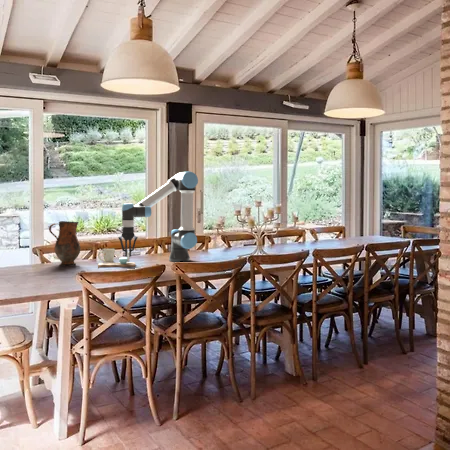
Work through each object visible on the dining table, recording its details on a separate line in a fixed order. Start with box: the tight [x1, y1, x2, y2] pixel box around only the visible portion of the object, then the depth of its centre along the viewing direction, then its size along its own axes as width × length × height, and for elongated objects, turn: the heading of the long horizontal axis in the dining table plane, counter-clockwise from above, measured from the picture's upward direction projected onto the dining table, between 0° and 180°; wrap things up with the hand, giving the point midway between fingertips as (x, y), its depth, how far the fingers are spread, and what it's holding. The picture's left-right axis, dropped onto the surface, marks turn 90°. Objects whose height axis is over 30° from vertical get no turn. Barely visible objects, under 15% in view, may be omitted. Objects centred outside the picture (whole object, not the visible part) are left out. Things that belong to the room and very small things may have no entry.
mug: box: [97, 248, 116, 263], centre depth 355 cm, size 8×13×10 cm, turn 78°
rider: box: [118, 257, 128, 264], centre depth 339 cm, size 5×6×5 cm
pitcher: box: [48, 220, 81, 267], centre depth 345 cm, size 17×21×30 cm
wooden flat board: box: [97, 262, 136, 269], centre depth 338 cm, size 24×9×3 cm, turn 98°
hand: (128, 261), depth 339 cm, fingers closed
